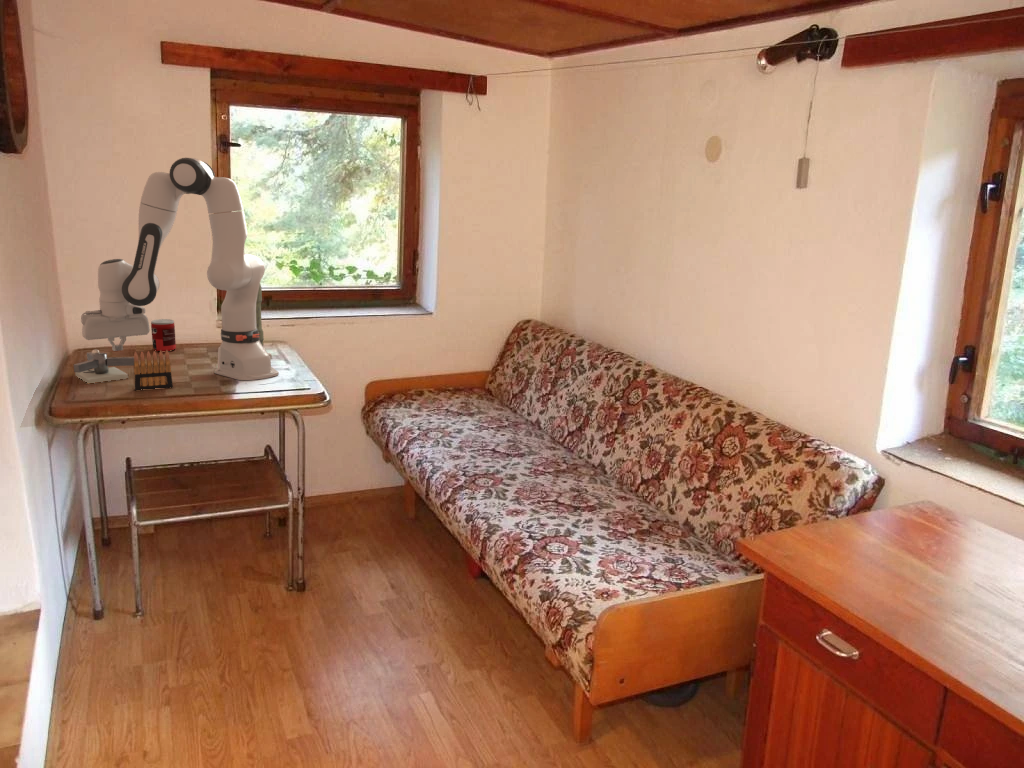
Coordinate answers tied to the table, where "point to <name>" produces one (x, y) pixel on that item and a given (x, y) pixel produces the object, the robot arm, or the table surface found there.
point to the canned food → (163, 334)
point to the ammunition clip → (152, 371)
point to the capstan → (102, 362)
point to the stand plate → (102, 375)
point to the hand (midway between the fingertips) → (117, 350)
